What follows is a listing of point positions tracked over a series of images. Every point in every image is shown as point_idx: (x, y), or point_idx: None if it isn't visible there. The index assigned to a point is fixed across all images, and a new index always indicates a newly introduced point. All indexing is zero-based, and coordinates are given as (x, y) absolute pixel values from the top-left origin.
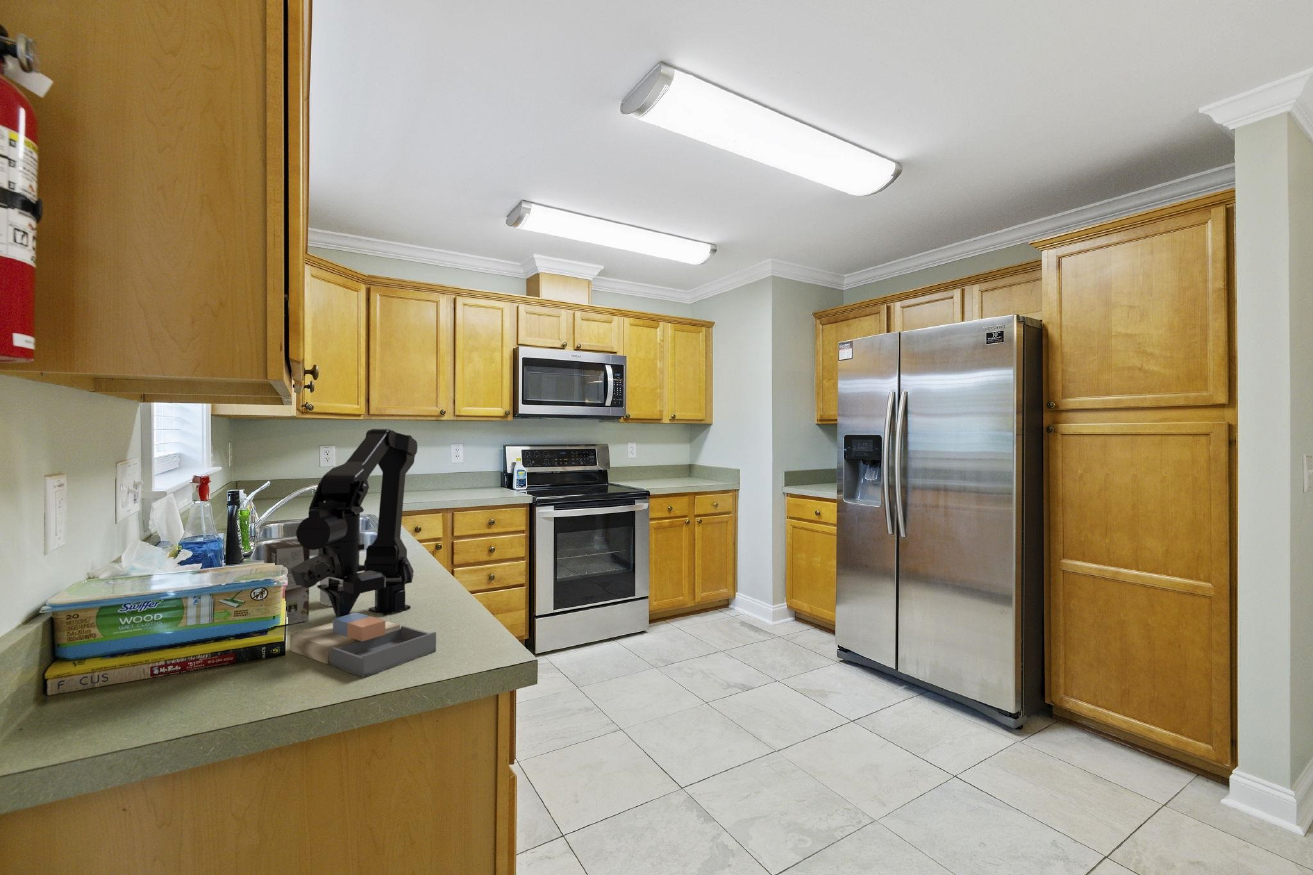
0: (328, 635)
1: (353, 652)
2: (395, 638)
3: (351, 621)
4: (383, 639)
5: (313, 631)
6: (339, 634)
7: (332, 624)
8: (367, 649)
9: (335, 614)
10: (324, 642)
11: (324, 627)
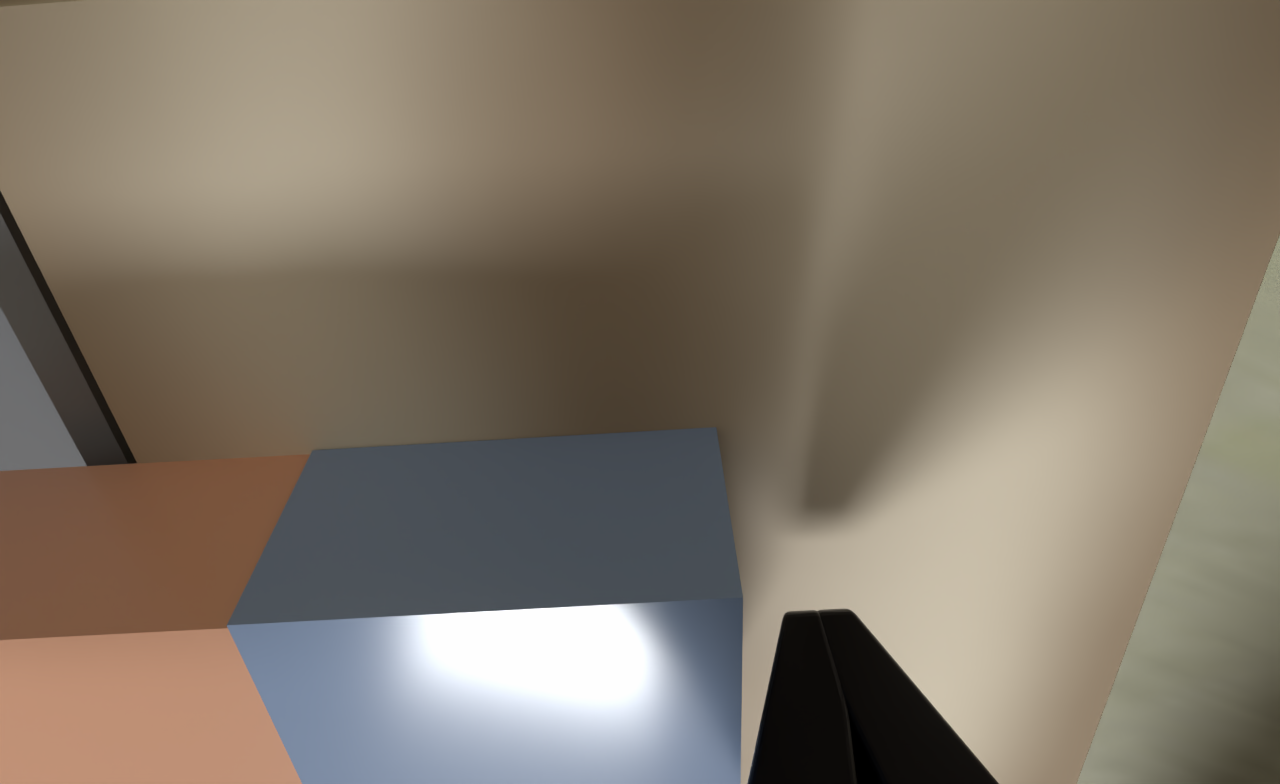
0: (604, 317)
1: None
2: None
3: (273, 689)
4: None
5: (1052, 265)
6: (514, 433)
7: (1063, 560)
8: None
9: (912, 702)
10: (251, 101)
11: (1053, 448)
